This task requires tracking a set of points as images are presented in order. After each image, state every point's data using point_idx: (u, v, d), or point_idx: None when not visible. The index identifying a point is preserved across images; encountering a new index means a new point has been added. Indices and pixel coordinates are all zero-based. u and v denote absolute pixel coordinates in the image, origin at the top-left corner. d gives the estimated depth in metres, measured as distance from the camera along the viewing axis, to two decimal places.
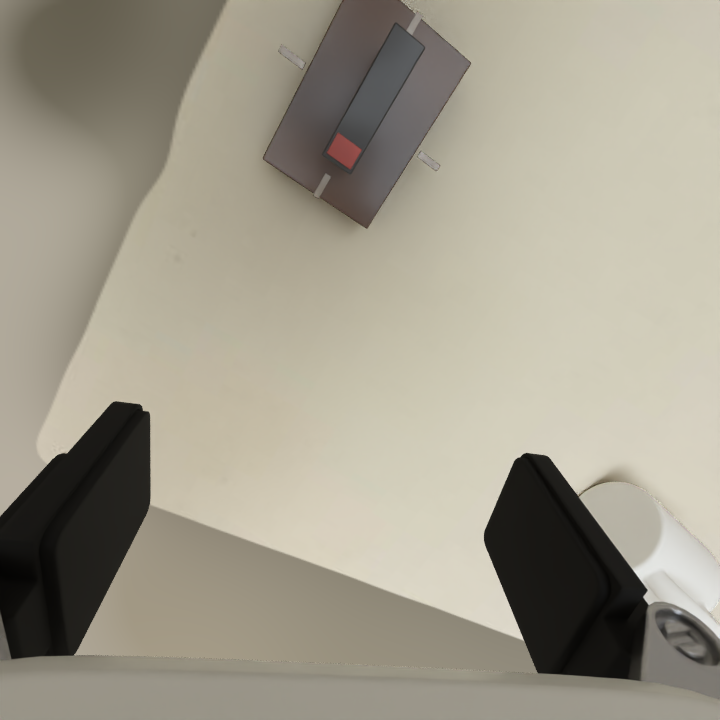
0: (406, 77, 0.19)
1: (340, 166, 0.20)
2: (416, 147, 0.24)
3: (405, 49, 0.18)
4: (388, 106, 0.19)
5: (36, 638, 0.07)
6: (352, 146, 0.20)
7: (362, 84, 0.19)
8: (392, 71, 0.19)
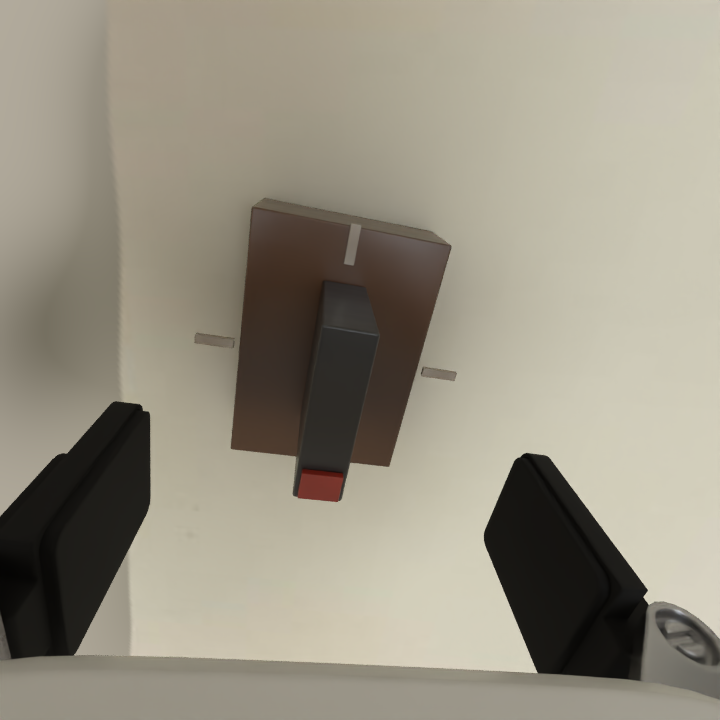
0: (368, 377, 0.12)
1: None
2: (416, 365, 0.17)
3: (351, 348, 0.12)
4: (357, 417, 0.13)
5: (36, 638, 0.07)
6: (328, 478, 0.13)
7: (309, 409, 0.12)
8: (344, 380, 0.12)
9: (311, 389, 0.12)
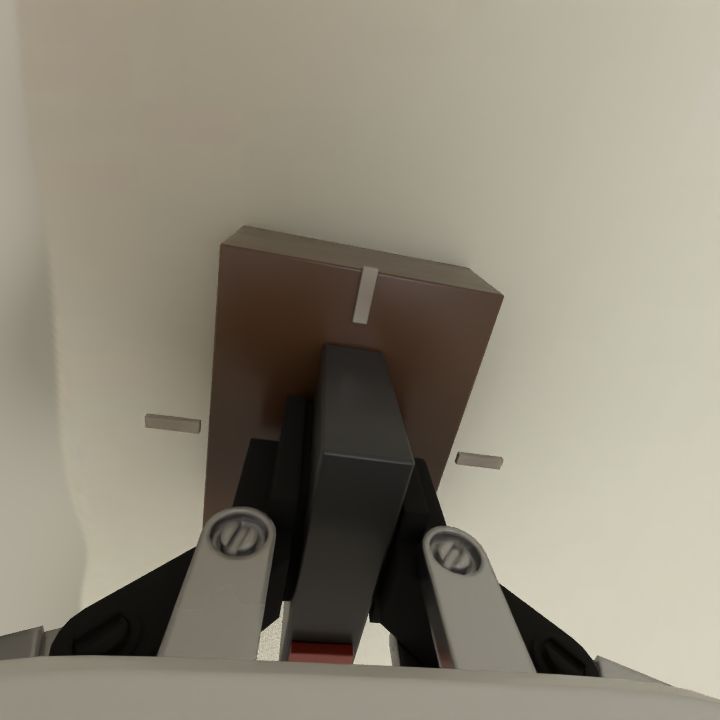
0: (394, 522, 0.08)
1: None
2: (448, 450, 0.13)
3: (369, 484, 0.07)
4: (376, 575, 0.08)
5: None
6: (331, 655, 0.09)
7: (302, 566, 0.08)
8: (356, 527, 0.08)
9: (304, 540, 0.08)
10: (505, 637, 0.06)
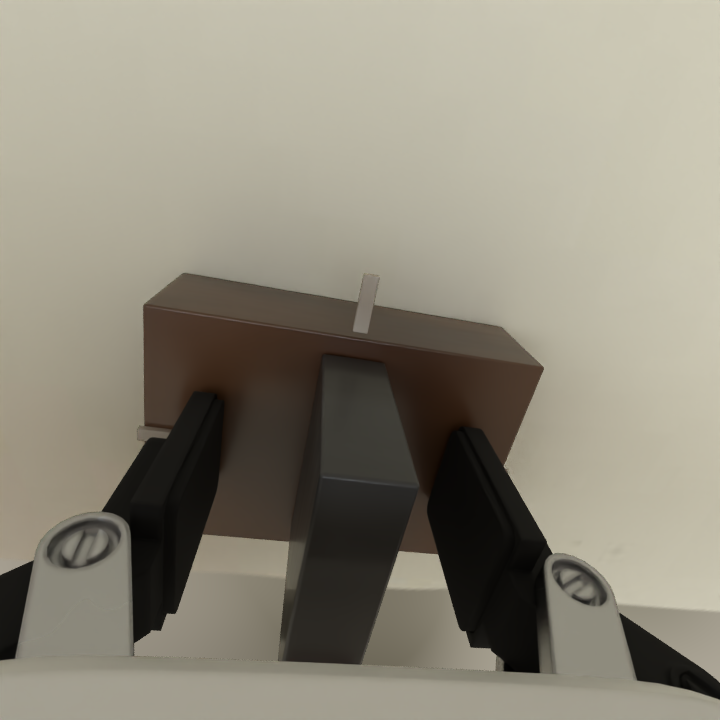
0: (397, 547, 0.07)
1: None
2: (349, 340, 0.10)
3: (372, 509, 0.07)
4: (378, 601, 0.08)
5: (156, 592, 0.08)
6: None
7: (299, 593, 0.08)
8: (357, 552, 0.07)
9: (302, 565, 0.07)
10: (617, 673, 0.06)
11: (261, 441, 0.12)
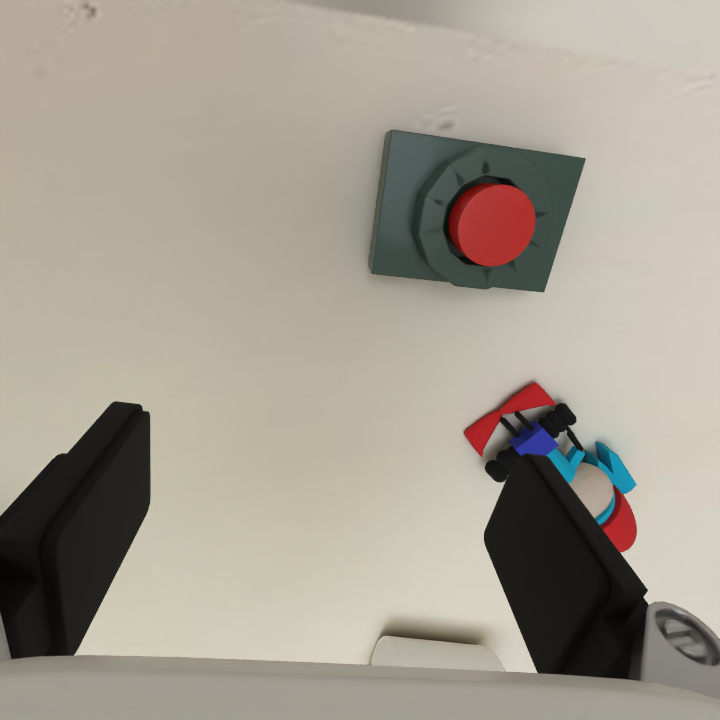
0: None
1: None
2: None
3: None
4: None
5: (36, 638, 0.07)
6: None
7: None
8: None
9: None
10: None
11: None
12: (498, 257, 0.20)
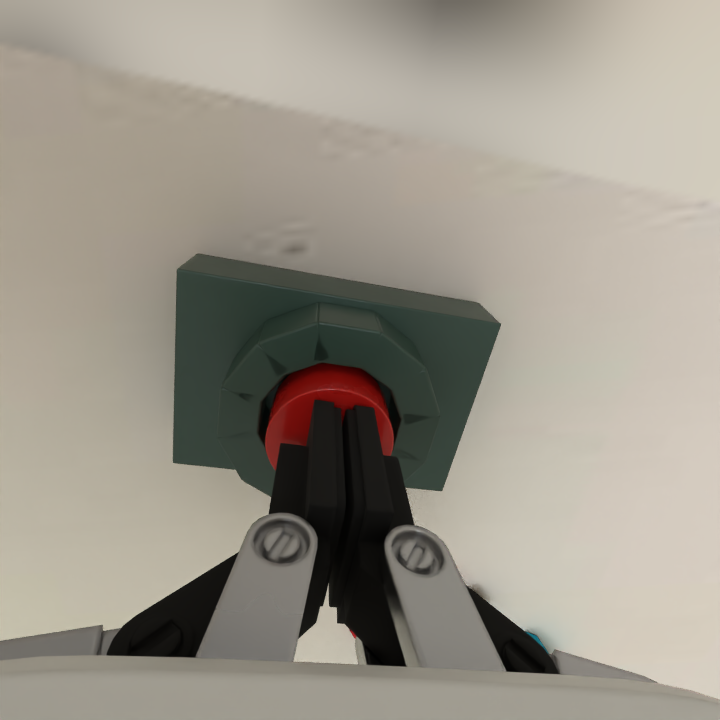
0: None
1: None
2: None
3: None
4: None
5: None
6: None
7: None
8: None
9: None
10: (472, 635, 0.06)
11: None
12: None
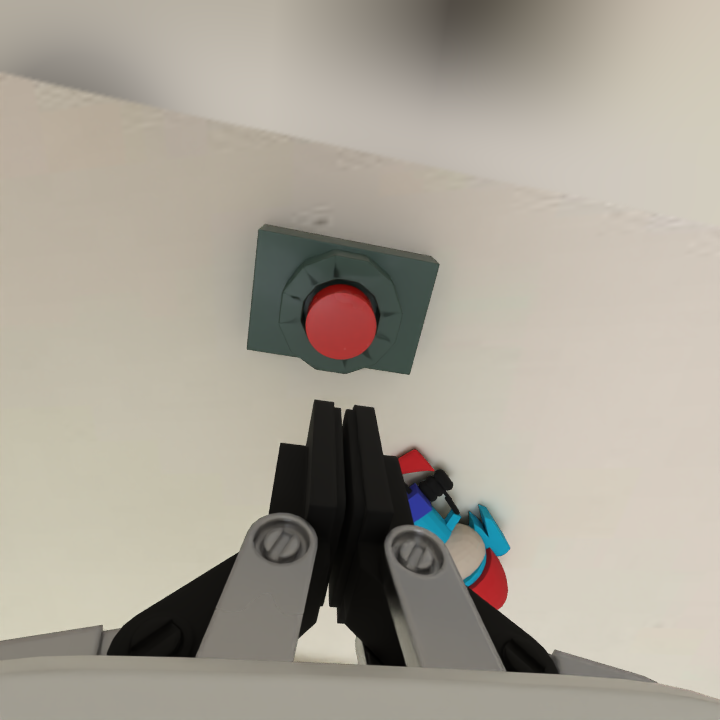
0: None
1: None
2: None
3: None
4: None
5: None
6: None
7: None
8: None
9: None
10: (472, 635, 0.06)
11: None
12: (344, 352, 0.22)
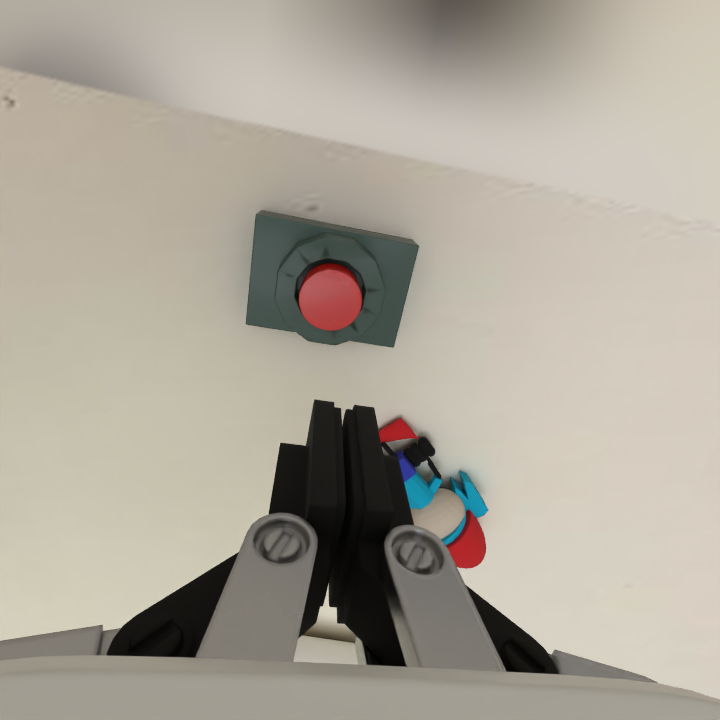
0: None
1: None
2: None
3: None
4: None
5: None
6: None
7: None
8: None
9: None
10: (472, 635, 0.06)
11: None
12: (334, 324, 0.25)
